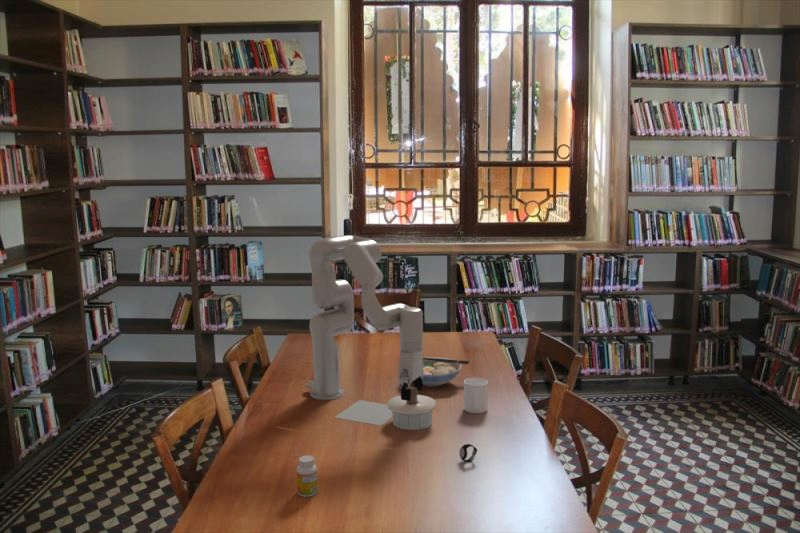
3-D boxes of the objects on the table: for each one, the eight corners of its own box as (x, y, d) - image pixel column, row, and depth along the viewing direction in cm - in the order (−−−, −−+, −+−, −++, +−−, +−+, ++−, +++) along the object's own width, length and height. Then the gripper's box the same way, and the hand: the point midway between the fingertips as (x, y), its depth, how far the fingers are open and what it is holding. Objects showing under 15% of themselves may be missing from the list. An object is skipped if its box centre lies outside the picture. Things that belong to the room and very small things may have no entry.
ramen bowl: (391, 389, 268) (390, 368, 266) (412, 371, 289) (412, 352, 287) (453, 397, 258) (453, 376, 257) (471, 378, 279) (471, 358, 278)
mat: (334, 418, 240) (334, 417, 240) (359, 401, 256) (359, 400, 256) (381, 426, 232) (381, 425, 232) (404, 408, 248) (404, 407, 248)
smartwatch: (459, 458, 208) (459, 442, 207) (476, 458, 208) (476, 442, 207) (460, 464, 204) (460, 448, 203) (477, 464, 204) (478, 448, 203)
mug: (487, 418, 238) (487, 389, 236) (462, 417, 239) (462, 388, 237) (487, 405, 250) (487, 378, 248) (464, 405, 251) (464, 377, 249)
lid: (379, 410, 230) (379, 392, 229) (400, 394, 244) (399, 378, 243) (424, 417, 224) (424, 399, 223) (443, 401, 238) (443, 384, 237)
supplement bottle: (298, 488, 191) (296, 454, 189) (318, 487, 191) (316, 453, 190) (296, 498, 186) (295, 463, 184) (317, 496, 186) (316, 462, 184)
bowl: (386, 426, 232) (385, 409, 231) (402, 413, 244) (402, 396, 242) (422, 433, 226) (422, 415, 225) (437, 419, 238) (437, 402, 237)
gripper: (411, 337, 240) (412, 385, 243) (389, 351, 224) (390, 402, 227) (432, 339, 237) (432, 388, 239) (411, 353, 221) (411, 405, 224)
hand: (411, 395), depth 233 cm, fingers open, 9 cm apart
